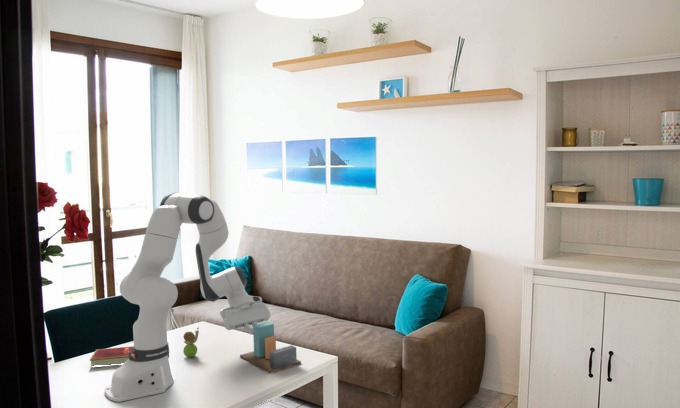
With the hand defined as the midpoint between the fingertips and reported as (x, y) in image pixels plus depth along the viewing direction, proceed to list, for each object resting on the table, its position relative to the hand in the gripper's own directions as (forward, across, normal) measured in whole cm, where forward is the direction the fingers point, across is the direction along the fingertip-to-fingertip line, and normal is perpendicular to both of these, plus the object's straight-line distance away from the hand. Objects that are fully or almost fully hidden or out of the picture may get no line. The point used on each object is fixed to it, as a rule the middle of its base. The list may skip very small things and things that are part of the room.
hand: (254, 333), depth 216 cm
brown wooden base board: (+14, 0, -2) cm, 14 cm away
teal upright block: (+11, 0, -1) cm, 11 cm away
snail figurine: (-4, -21, +15) cm, 26 cm away
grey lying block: (+21, 0, -9) cm, 23 cm away
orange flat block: (+14, +2, -4) cm, 14 cm away
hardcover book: (-14, -43, +27) cm, 53 cm away
